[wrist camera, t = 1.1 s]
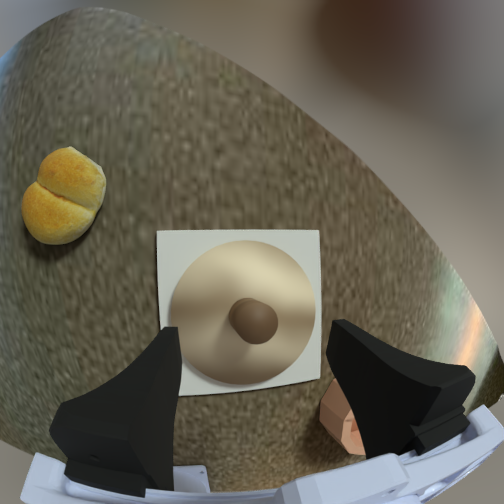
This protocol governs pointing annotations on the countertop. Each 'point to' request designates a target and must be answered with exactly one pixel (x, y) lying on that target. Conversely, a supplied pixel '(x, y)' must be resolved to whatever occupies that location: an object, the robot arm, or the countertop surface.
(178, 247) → the mat
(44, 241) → the bread roll
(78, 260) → the countertop surface
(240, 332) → the lid
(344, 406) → the bowl
